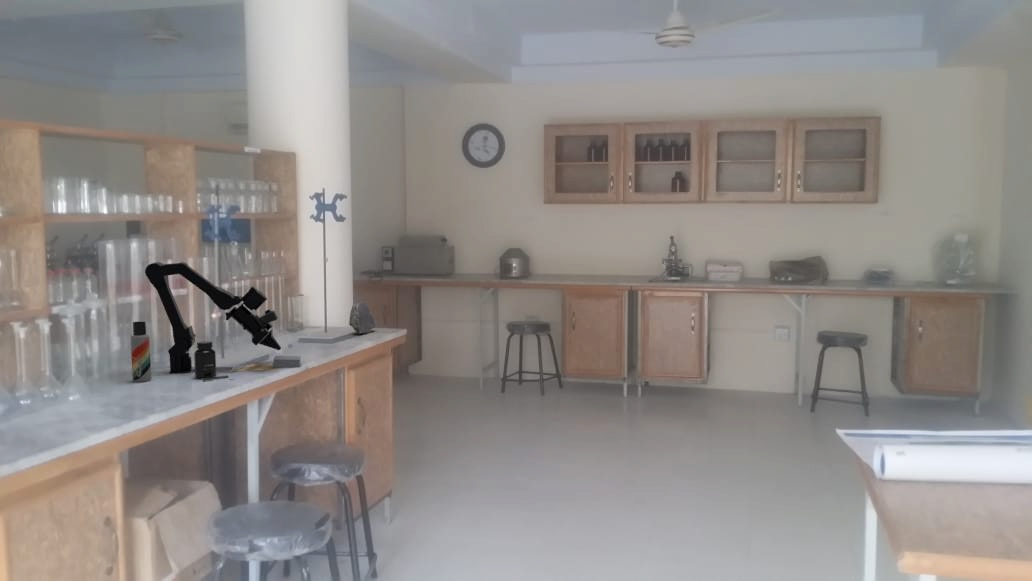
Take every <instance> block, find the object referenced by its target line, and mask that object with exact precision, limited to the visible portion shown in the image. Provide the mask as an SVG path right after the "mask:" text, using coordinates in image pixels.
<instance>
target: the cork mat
mask: <svg viewBox="0 0 1032 581" xmlns="http://www.w3.org/2000/svg"><path fill="white" fill-rule="evenodd" d="M250 364H251V365H247V366H245V367H243V368H240V369H235V370H231V369H229V372H230V373H231V372H247V371H248V372H249V371H250V372H252V371H253V372H254V371H274V370H275V371H276V370H278V368H273V363H250Z"/></svg>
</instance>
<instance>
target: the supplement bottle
mask: <svg viewBox="0 0 1032 581" xmlns="http://www.w3.org/2000/svg"><path fill="white" fill-rule="evenodd" d="M213 347H214V346H213V341H207V340H206V341H198V342H196V348H197V350H195V352H194V355H193V357H194V377H195V378H196V379H200V380H201V379H202V378H208V377H217V353H216V350H214V349H213ZM202 380H203V379H202Z"/></svg>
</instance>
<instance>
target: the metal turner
mask: <svg viewBox="0 0 1032 581" xmlns="http://www.w3.org/2000/svg"><path fill="white" fill-rule="evenodd" d="M222 379H229V375H216V376H214V377H208V378H202V382H203V383H205V382H206V381H208V382H214V380H222ZM231 381H235V380H234V378H233V379H231Z"/></svg>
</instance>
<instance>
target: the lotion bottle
mask: <svg viewBox="0 0 1032 581" xmlns="http://www.w3.org/2000/svg"><path fill="white" fill-rule="evenodd" d="M146 325H147V324H146V321H132V334H133V335H130V354H131V373H132V374H131V375H132V377H131V378H132V381H133V382H134V383H143V382H149V381H151V380H152V368H151V367H152V365H151V364H152V363H151V346H150V344H151V343H150V335H149V334H147V328H146V327H147V326H146Z"/></svg>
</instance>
